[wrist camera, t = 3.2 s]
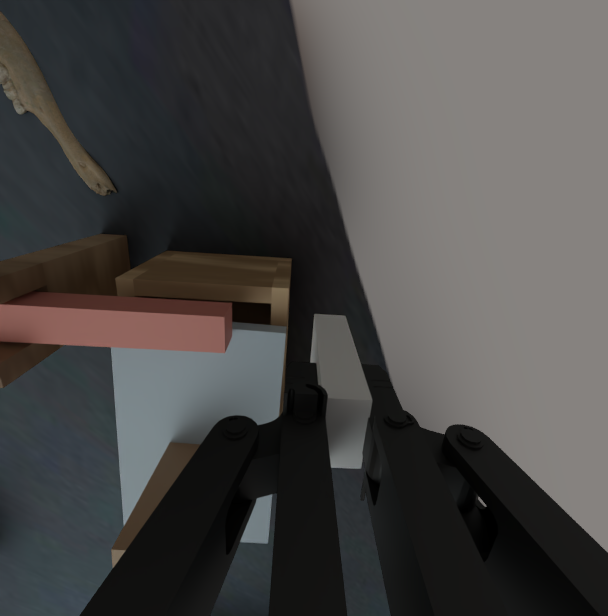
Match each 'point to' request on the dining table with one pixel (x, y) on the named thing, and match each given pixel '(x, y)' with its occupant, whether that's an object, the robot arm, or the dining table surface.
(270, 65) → the dining table surface
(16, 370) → the post
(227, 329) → the bar
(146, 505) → the lid
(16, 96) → the jawbone
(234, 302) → the open wooden box
